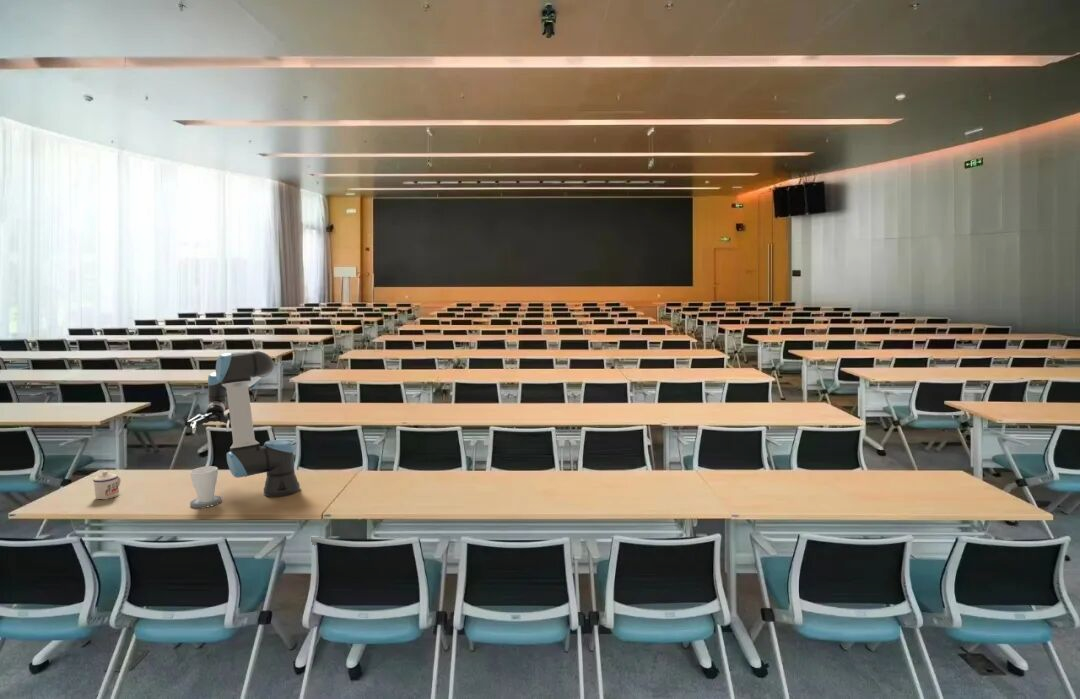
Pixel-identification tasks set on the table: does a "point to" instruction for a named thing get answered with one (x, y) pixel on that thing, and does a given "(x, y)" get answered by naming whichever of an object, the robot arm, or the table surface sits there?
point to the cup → (204, 482)
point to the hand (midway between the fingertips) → (210, 429)
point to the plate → (197, 504)
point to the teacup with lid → (106, 485)
